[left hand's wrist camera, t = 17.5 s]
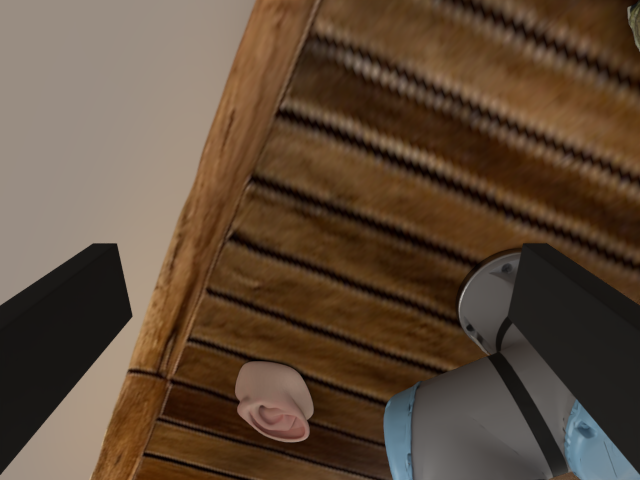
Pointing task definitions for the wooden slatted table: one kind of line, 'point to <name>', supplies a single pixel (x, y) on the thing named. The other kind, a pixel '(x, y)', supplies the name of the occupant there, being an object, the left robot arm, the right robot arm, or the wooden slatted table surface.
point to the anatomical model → (274, 400)
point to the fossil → (635, 21)
